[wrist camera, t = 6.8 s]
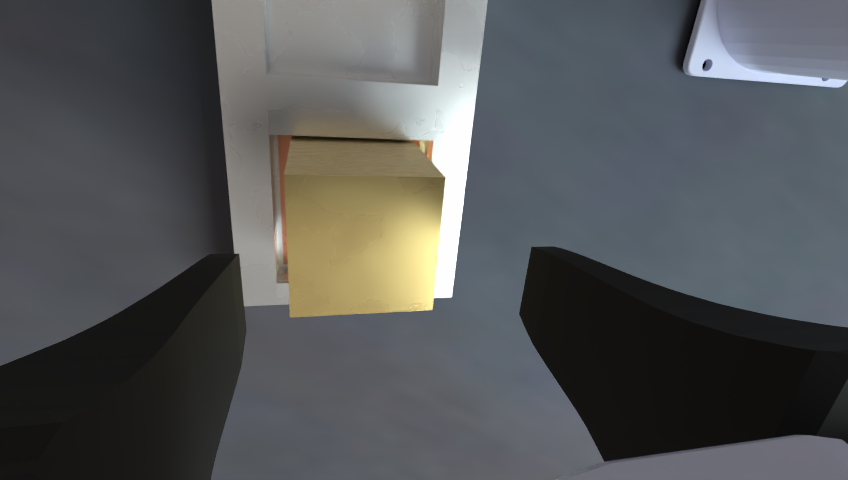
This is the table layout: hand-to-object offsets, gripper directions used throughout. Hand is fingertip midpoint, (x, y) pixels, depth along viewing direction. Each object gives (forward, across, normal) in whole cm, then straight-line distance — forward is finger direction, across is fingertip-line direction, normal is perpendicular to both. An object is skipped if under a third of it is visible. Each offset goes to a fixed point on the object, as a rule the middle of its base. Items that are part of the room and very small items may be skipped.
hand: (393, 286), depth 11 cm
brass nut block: (+9, 0, 0) cm, 9 cm away
